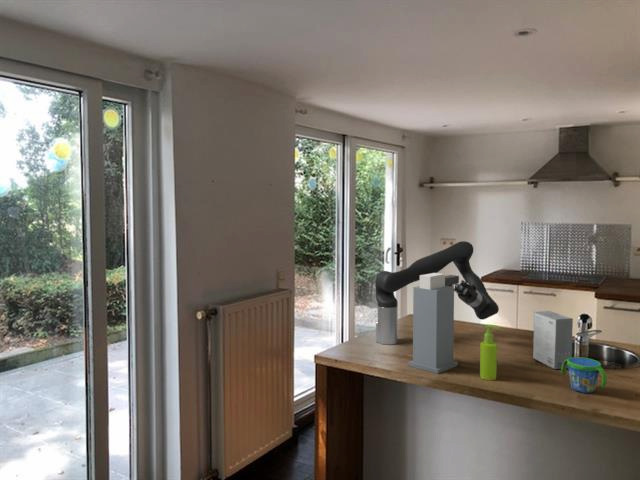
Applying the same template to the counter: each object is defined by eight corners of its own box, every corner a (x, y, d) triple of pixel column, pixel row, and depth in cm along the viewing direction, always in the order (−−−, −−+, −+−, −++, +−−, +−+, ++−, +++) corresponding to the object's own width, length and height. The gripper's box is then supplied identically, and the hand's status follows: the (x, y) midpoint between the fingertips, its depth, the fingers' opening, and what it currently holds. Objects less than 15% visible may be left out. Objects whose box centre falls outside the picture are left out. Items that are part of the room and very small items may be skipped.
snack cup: (613, 395, 177) (614, 365, 177) (592, 400, 173) (593, 370, 172) (574, 380, 192) (575, 353, 191) (553, 385, 187) (554, 357, 186)
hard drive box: (572, 368, 205) (573, 318, 203) (554, 370, 203) (555, 319, 202) (548, 356, 220) (549, 310, 218) (532, 358, 219) (533, 311, 217)
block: (430, 289, 201) (430, 276, 201) (419, 288, 205) (419, 275, 205) (459, 283, 216) (460, 271, 215) (449, 281, 219) (449, 270, 219)
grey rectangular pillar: (437, 373, 200) (438, 291, 197) (408, 365, 210) (408, 287, 208) (457, 365, 210) (458, 286, 207) (428, 358, 220) (429, 282, 217)
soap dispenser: (497, 381, 191) (498, 328, 189) (478, 378, 195) (478, 325, 193) (500, 377, 196) (501, 324, 194) (482, 373, 200) (483, 322, 198)
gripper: (458, 286, 233) (440, 271, 223) (487, 289, 222) (470, 274, 212) (453, 301, 231) (435, 287, 221) (482, 306, 220) (465, 291, 210)
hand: (452, 281), depth 216 cm, fingers open, 8 cm apart
